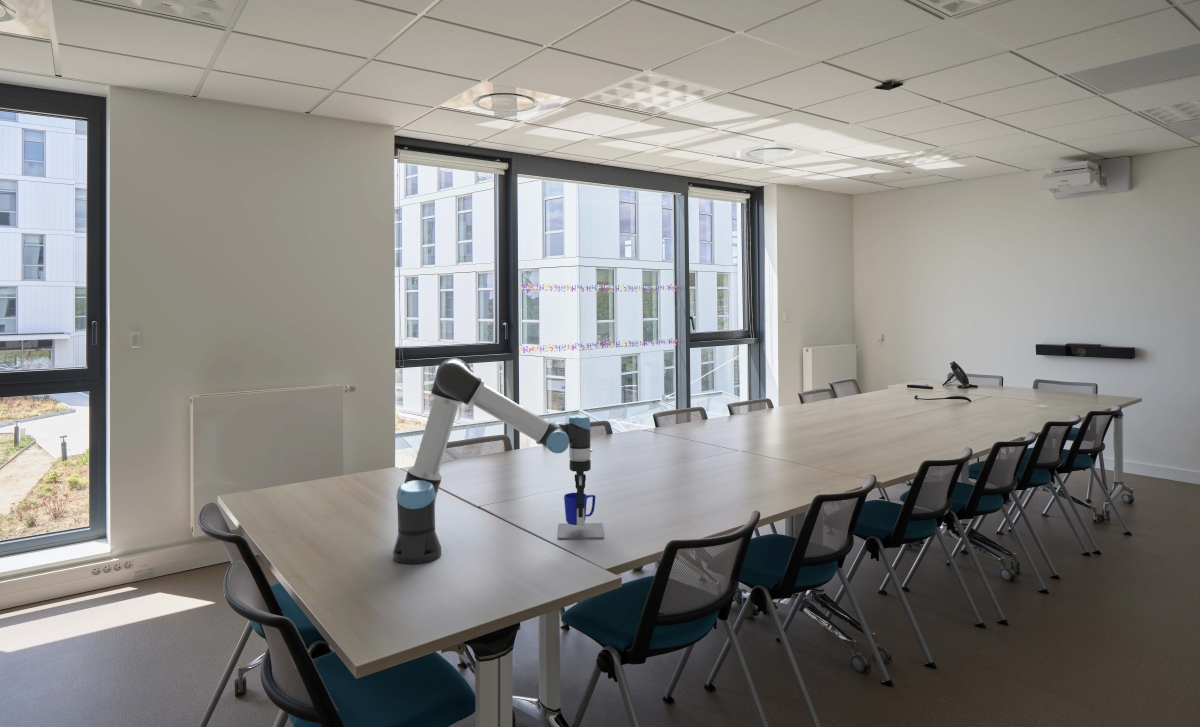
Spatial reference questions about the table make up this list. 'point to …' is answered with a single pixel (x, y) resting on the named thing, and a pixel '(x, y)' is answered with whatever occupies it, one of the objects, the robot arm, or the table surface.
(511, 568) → the table surface
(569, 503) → the mug
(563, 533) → the coaster
